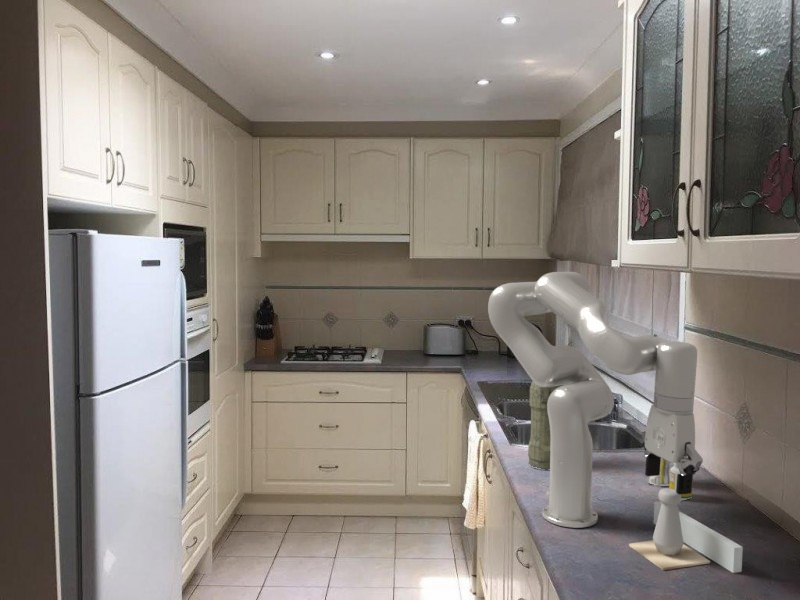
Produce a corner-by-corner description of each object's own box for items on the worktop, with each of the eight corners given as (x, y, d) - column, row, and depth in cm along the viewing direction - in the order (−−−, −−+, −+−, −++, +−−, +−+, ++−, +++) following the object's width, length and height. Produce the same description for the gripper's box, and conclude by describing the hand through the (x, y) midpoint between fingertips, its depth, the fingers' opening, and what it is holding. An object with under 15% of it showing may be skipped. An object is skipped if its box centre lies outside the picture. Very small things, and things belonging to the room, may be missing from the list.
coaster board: (629, 545, 138) (629, 543, 138) (673, 539, 141) (673, 537, 141) (663, 570, 128) (663, 567, 128) (709, 563, 131) (710, 560, 131)
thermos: (531, 472, 184) (533, 349, 182) (525, 458, 196) (528, 343, 193) (562, 472, 184) (565, 349, 181) (555, 459, 195) (558, 343, 193)
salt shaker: (667, 560, 131) (670, 497, 130) (646, 548, 136) (648, 487, 135) (689, 554, 133) (691, 492, 132) (667, 543, 138) (669, 483, 137)
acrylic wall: (653, 523, 150) (654, 502, 150) (661, 522, 150) (661, 501, 150) (733, 573, 127) (734, 548, 126) (741, 571, 127) (742, 546, 127)
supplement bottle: (665, 496, 166) (666, 459, 166) (675, 491, 170) (676, 455, 169) (686, 502, 162) (687, 465, 161) (695, 497, 166) (697, 460, 165)
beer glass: (659, 477, 180) (661, 424, 179) (678, 486, 174) (680, 431, 173) (638, 480, 178) (641, 426, 177) (656, 489, 171) (658, 433, 170)
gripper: (631, 393, 139) (626, 470, 141) (687, 415, 123) (680, 502, 125) (661, 391, 142) (655, 468, 143) (720, 413, 125) (713, 499, 127)
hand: (667, 484), depth 134 cm, fingers open, 9 cm apart
